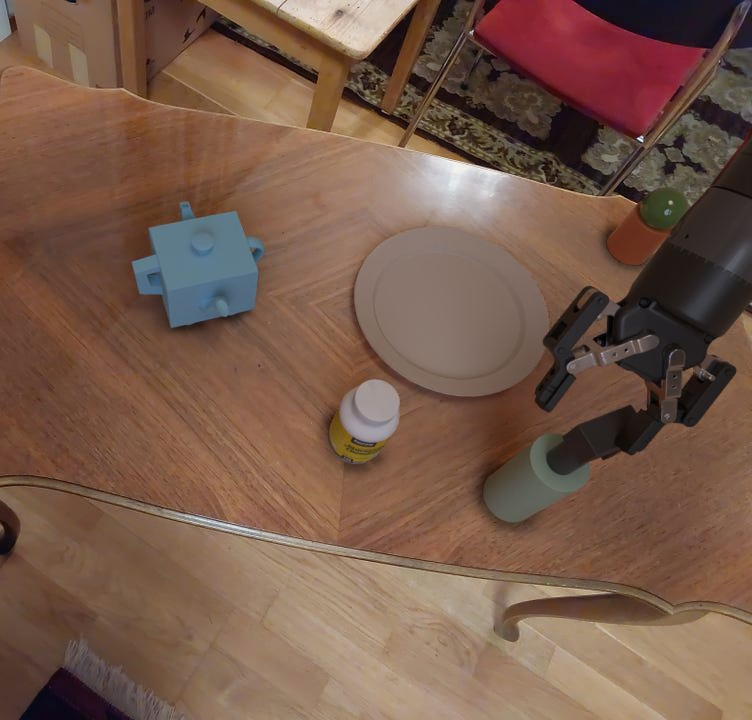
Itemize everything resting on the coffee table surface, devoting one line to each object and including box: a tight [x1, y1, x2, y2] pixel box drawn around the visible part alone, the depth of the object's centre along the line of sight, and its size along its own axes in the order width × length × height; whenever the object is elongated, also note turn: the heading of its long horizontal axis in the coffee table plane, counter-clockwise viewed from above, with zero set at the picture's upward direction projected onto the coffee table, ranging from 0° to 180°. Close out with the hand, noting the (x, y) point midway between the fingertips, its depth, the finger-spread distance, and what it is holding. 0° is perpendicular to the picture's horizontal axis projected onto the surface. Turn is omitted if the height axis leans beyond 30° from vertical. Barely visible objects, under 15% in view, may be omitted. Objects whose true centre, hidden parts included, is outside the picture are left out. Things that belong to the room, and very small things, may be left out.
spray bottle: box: [482, 404, 638, 523], centre depth 67 cm, size 8×6×20 cm
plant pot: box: [606, 186, 690, 266], centre depth 89 cm, size 6×6×11 cm
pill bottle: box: [327, 378, 401, 465], centre depth 72 cm, size 6×6×12 cm
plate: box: [353, 226, 550, 397], centre depth 85 cm, size 26×26×2 cm
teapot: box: [131, 200, 266, 329], centre depth 79 cm, size 16×18×11 cm
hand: (582, 428), depth 56 cm, fingers open, 8 cm apart
